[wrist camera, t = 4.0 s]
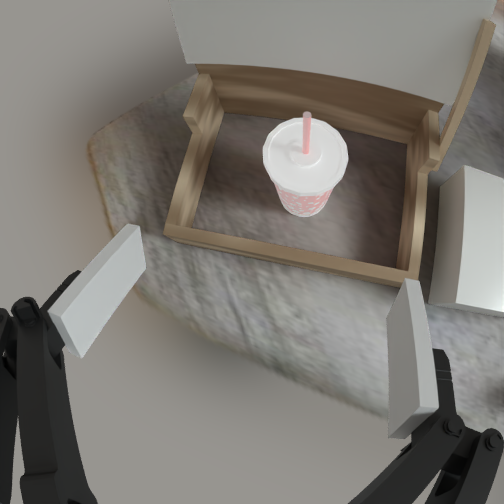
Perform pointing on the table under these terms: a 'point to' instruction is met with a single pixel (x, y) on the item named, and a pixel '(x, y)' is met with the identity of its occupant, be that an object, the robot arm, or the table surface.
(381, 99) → the frame
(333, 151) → the beverage cup
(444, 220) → the grey slab
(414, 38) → the propped lid
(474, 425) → the table surface
